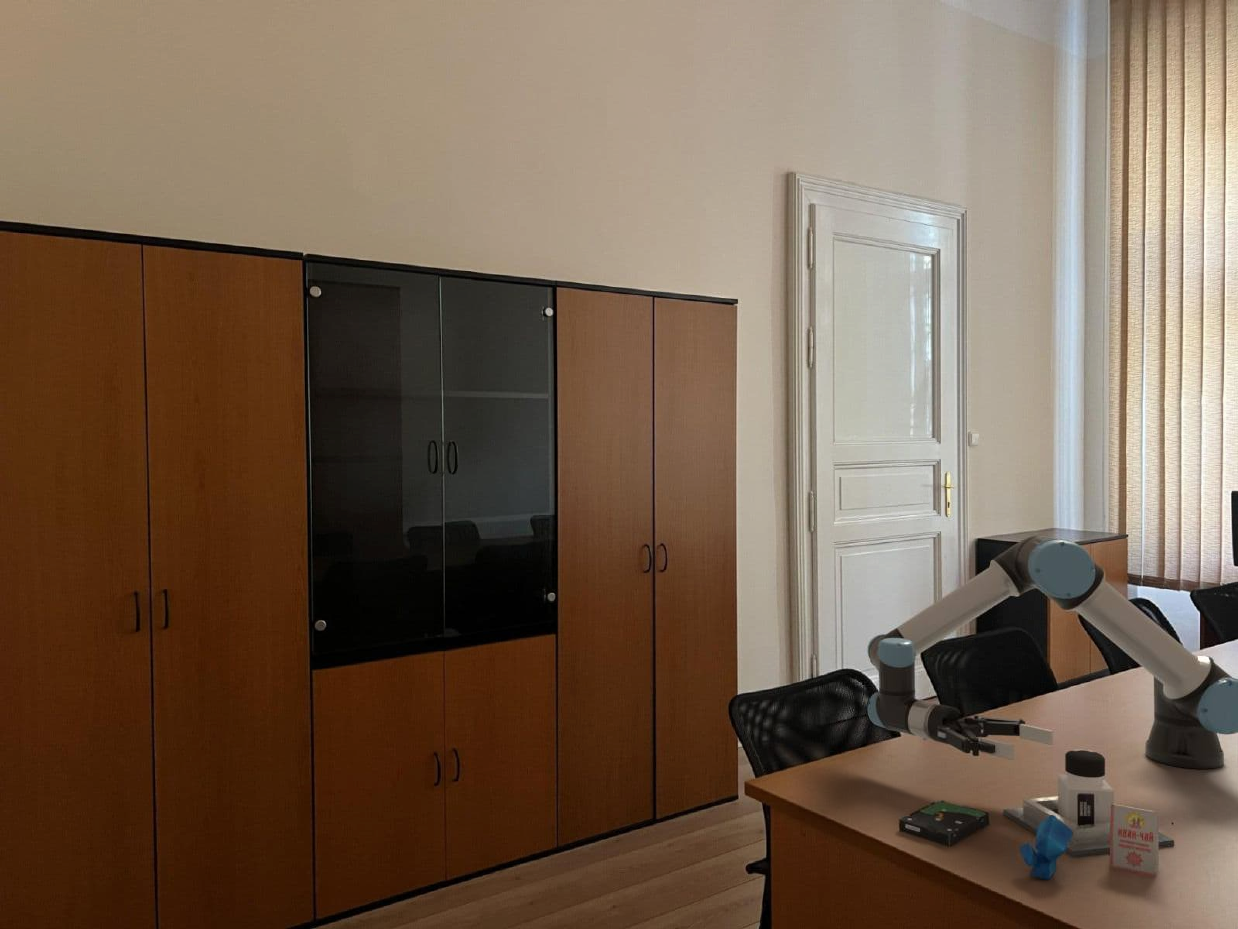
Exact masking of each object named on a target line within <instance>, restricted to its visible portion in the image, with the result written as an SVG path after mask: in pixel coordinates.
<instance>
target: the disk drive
mask: <svg viewBox="0 0 1238 929" xmlns="http://www.w3.org/2000/svg"><path fill="white" fill-rule="evenodd" d="M989 825H990V813H989V812H987V811H984V810H980V809H976V808H972V807H969V806H967V805H966V806H965V805H959V804H954V803H951V802H947V801H945V800H943V799H942V800H940V801H939V800H937V801H934V802H931V803H930V804H928V805H925V806H924V807H921V808H919V809H918V810H915V811H914V812H911V813H908V814H907V815H904V816H902V817H901V818H899V820H898V826H899V829H898V831H899V832H901V833H904V834H907V835H911V836H914V837H918V838H920V839H924V840H927V841H930V842H933V843H937V844H940V845H943V846H946V847H952V846H954V845H957V844H958V843H959V842H961V841H964V839H966V838H968V837H969V836H972V835H974V834H975V833H977V832H978V831H980V830H983V829H985V828H986V827H988V826H989Z"/></svg>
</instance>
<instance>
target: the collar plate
mask: <svg viewBox="0 0 1238 929" xmlns="http://www.w3.org/2000/svg"><path fill="white" fill-rule="evenodd" d="M1002 810H1003V811H1002V813H1003V814H1002V815H1004V816H1005V817H1007V818H1008V819H1010V820H1012V821H1013V822H1015V823H1016V824H1018V825H1019V826H1021V827H1022V828H1025V830H1027V831H1030V832H1032V833H1033V834H1034V835H1036V836H1037V829H1038V826H1039V825H1040V824H1041V823H1042V822H1043V821H1044V820H1046V819H1047V818H1048V817H1049V816H1050V815H1054V816H1055V817H1056V818H1058V819H1059V820H1060V821H1061V822H1062V823H1064V824H1065V825H1066V826H1067V827H1068V828H1069V829H1071V830H1072V831H1073V835H1072V837H1071V839H1070V842H1069V844H1068V846H1067V848H1066V850H1065V852H1064V854H1065V853H1066V854H1068V855H1069V856H1070V857H1072V858H1077V857H1084V856H1097V855H1105V854H1110V822H1108V823H1099V824H1089V825H1080V826H1078V825H1076V824H1074V823H1072V822H1070V821H1069V820H1067V819H1065V818H1063V817H1062V816H1060V815H1059V814H1058V795H1057V796H1048V797H1037V798H1036V797H1035V798H1025V799H1022V807H1015V808H1005V809H1004V808H1003V809H1002ZM1174 846H1175V839H1173V838H1171V837H1170V836H1168V835H1165V834H1163V833H1161V832H1159V831H1158V848H1166V847H1167V848H1168V847H1174Z"/></svg>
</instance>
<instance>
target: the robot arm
mask: <svg viewBox="0 0 1238 929" xmlns="http://www.w3.org/2000/svg"><path fill="white" fill-rule="evenodd" d="M1034 589H1038V590H1039V591H1040V592H1041V593H1043V594H1044V595H1045V596H1047V597H1048V598H1049V599H1050V600H1051V601H1052V602H1053V603H1054V604H1056V606H1059V608H1060V609H1062V610H1063V611H1065V612H1077V613H1078V614H1079V615H1080V616H1082V618H1083V619H1085V620H1086V621H1087V622H1088V623H1090V624H1091V625H1092V626H1093V627H1094V628H1096V629H1097V630H1098V631H1099V632H1101V633H1102V634H1103V635H1104V636H1105V637H1106V638H1108V640H1110V641H1111V642H1112V643H1114V644H1115V645H1116V646H1117V647H1118V648H1120V649H1121V651H1123V652H1124V653H1125V654H1127V655H1128V656H1129V657H1130V658H1131V659H1132V660H1134V661H1135V662H1136V663H1137V664H1139V665H1140V667H1142V668H1144V669H1145V670H1146V671H1147V672H1148V673H1149V674H1150V675H1152V676H1153V709H1154V710H1153V714H1154V716H1153V723H1152V726H1151V729H1150V733H1149V735H1148V739H1147V740H1146V741H1145V746H1144V747H1145V751H1144V752H1145V755H1146V756H1147V757H1148V758H1149V759H1151V760H1153V761H1155V762H1158V763H1161V764H1164V765H1169V766H1173V767H1179V768H1184V769H1185V768H1187V769H1195V770H1196V769H1198V770H1199V769H1201V770H1203V769H1204V770H1205V769H1206V770H1208V769H1216V768H1220V767H1222V766H1224V764H1225V753H1224V750H1223V748H1222V746H1221V743H1220V740H1219V736H1218V734H1219V735H1225V736H1227V735H1234V734H1237V733H1238V678H1235V677H1232V676H1231V675H1230V674H1228V672H1227V671H1225V670H1224V669H1223V668H1221V666H1219V665H1218V664H1217V663H1216V662H1215V660H1214V658H1213V657H1211V656H1209V655H1208V656H1207V655H1204V654H1193V653H1192V652H1191V651H1189V649H1187V648H1186V647H1185V646H1184V645H1182V644H1181V643H1180V642H1178V641H1177V640H1176V639H1175V638H1174V637H1173V636H1171V635H1170V634H1169V632H1167V631H1166V630H1164V629H1163V628H1162V627H1160V625H1159V624H1157V623H1156V622H1155V621H1154V620H1152V618H1150V617H1149V616H1148V615H1146V614H1145V613H1144V612H1143V611H1142V610H1140V609H1139V608H1138V607H1137V606H1136V605H1134V603H1133V602H1131V601H1129V600H1128V599H1127V598H1126V597H1125V596H1124V595H1123V594H1121V593H1120V592H1119V591H1118V590H1116V588H1114V587H1113V586H1112V585H1110V584H1109V583H1108V582H1107V581H1106V572H1105V570H1104V569H1103V568H1102V567H1101V566H1099V565H1098V563H1096V562H1095V561H1094V560H1093V557H1092V556H1091V555H1090V553H1089V552H1088V551H1087V550H1086V549H1085V548H1084V547H1083V546H1081V545H1080V544H1078V543H1076V542H1074V541H1072V540H1069V539H1066V538H1057V537H1054V536H1052V535H1047V534H1035V535H1031V536H1028V537H1026V538H1024V539H1022V540H1020V541H1019V542H1017V543H1015V544H1014V545H1012V546H1011V547H1009V548H1008V549H1007V550H1005V551H1004V552H1002V553H1000V555H997V556H996V557H995V558H993V559H992V560H990V564H989V567H987V568H986V569H984V570H983V571H982V572H980V573H978V574H976V575H975V576H974V577H972V578H971V579H969V580H968V581H966V582H965V583H963V584H961V585H960V586H958V587H957V588H956V589H954V590H953V591H951V592H950V593H949V592H948V594H946V595H944V596H943V597H942V598H940V599H939V600H937V601H936V602H934V603H932V604H931V605H929V606H927V607H926V608H924V609H923V610H922V611H920V612H918V613H916V615H914V616H912V617H911V618H909V619H908V620H907V621H904V622H903V623H901V624H900V625H898V626H897V627H896V628H894V629H892V630H890V631H889V632H888V633H886V634H885V633H883V634H877V635H875V636H873V638H871V639H870V641H869V642H868V645H867V655H868V658H869V662H870V663H871V664H872V666H874V667H875V669H876V670H877V671H878V685H879V686H878V691H876V692H874V693H873V694H872V695H871V696H870V697H869V704H868V705H867V715H868V717H869V720H870V721H871V723H873V724H874V725H876V726H878V727H881V728H883V729H884V728H885V729H886V730H888V731H894V732H899V733H903V734H906V735H907V734H908V735H911V736H916V737H919V738H922V740H923V741H927V740H931V741H935V742H938V743H942V744H946V745H950V746H952V747H953V748H956V749H957V750H959V751H961V752H962V753H965V754H971V752H972V754H971V755H972V756H973V757H979V756H980V753H983V754H987V755H989V756H993V757H998V758H1002V759H1007V760H1010V761H1013V760H1015V744H1012V743H1008V742H1004V741H1000V740H999V741H998V740H995V739H991V738H988V736H1006V737H1007V736H1008V737H1019V738H1020V739H1023V740H1028V741H1031V742H1036V743H1039V744H1044V745H1048V746H1053V745H1054V731H1053V729H1052V730H1051V729H1048V728H1043V727H1039V726H1033V725H1028V724H1026V721H1025V720H1024V719H1023V718H1019V719H1013V718H1012V719H1010V718H1002V717H1001V718H1000V717H988V716H983V715H974V716H973V717H971V716H970V717H969V716H965V717H963V715H962V714H961V712H960V710H959V709H958V708H956V707H954V706H949V705H945V704H940V703H937V702H932V701H926V700H921V699H918V698H916V666H915V665H916V664H915V663H916V657H917V656H919V655H920V654H921V653H924V651H926V650H928V649H929V648H931V647H932V646H934V645H936V644H937V643H938V642H941V641H942V640H943V639H946V638H947V637H948V636H950V635H951V634H953V633H954V632H956V631H958V630H959V629H960V628H962V627H963V626H965V625H967V624H968V623H970V622H971V621H973V620H974V619H976V618H978V617H980V616H981V615H983V614H984V613H986V612H987V611H988V610H990V609H992V608H993V607H994V606H996V605H998V604H1000V603H1001V602H1003V601H1004V600H1006V599H1008V598H1009V597H1010V596H1011V597H1012V596H1013V597H1020V596H1022V595H1023V594H1024V593H1026V592H1028V591H1030V590H1034Z"/></svg>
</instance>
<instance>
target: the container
mask: <svg viewBox="0 0 1238 929" xmlns="http://www.w3.org/2000/svg"><path fill="white" fill-rule="evenodd" d="M1064 761H1065V762H1064V767H1065V768H1064V769H1065V770H1064V771H1065V773H1058V774H1057V796H1058V814H1059V815H1060V816H1062V817H1063V818H1065V819H1067V820H1069V821H1070V822H1072V823H1074V824H1076V825H1078V826H1080V825H1089V824H1099V823H1108V822H1110V819H1111V804H1115V801H1114V799H1115V798H1114V796H1115V794H1114V789H1113V788H1112V787H1111V785H1109V783H1108V782H1107V781H1106V758H1105V757H1104V755H1102V754H1100V753H1099V752H1096V751H1094V750H1091V749H1090V750H1089V749H1084V748H1083V749H1081V748H1078V749H1071V750H1069V751H1067V752H1066V753H1065V754H1064Z"/></svg>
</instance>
